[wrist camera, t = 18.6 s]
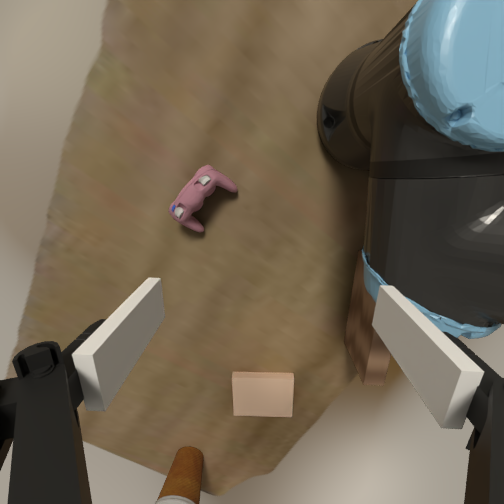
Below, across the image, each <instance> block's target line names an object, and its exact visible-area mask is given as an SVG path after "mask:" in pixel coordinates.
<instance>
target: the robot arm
mask: <svg viewBox="0 0 504 504" xmlns="http://www.w3.org/2000/svg"><path fill="white" fill-rule="evenodd" d="M317 125H318V131H319V135H320V138H321V140H322V143H323V145H324V146H325V148H326V150H327V151H328V152H329V154H330V155H331V156H332V157H333V158H334V159H336V160H337V161H338V162H340V163H341V164H343V165H345V166H348V167H350V168H354V169H360V170H369V177H368V195H367V212H366V225H365V238H364V245H363V249H362V258H363V261H364V284H365V287H366V290H367V291H368V293H369V294H370V295H371V296H372V298H373V300H374V301H375V302H376V307H375V312H374V317H373V322H372V326H373V327H374V329H375V330H376V332H377V333H378V335H379V336H380V338H381V339H382V341H383V342H384V344H385V345H386V347H387V348H388V350H389V351H390V353H391V354H392V355H393V357H394V359H395V360H396V361H397V363H398V365H399V366H400V368H401V369H402V370H403V372H404V373H405V375H406V376H407V378H408V379H409V381H410V382H411V384H412V385H413V387H414V388H415V390H416V391H417V393H418V394H419V396H420V397H421V398H422V400H423V402H424V403H425V405H426V406H427V408H428V409H429V410H430V412H431V414H432V415H433V416H434V418H435V419H436V421H437V422H438V424H439V425H440V427H441V428H450V429H462V427H463V425H464V422H465V419H466V417H467V418H468V419H469V420H470V422H471V423H472V424H473V425H474V430H473V432H472V434H471V437H470V439H469V441H468V444H467V446H466V449H468V450H470V454H469V463H468V472H467V481H466V492H465V500H464V504H504V378H501V377H500V376H499V375H498V374H497V373H496V372H495V371H494V370H493V369H491V368H490V367H489V366H488V365H487V364H486V363H485V362H484V361H483V360H481V359H480V358H479V357H478V356H477V355H475V353H474V352H473V351H471V350H470V349H468V348H467V346H466V345H465V344H464V343H462V342H461V341H460V340H459V339H458V337H459V336H460V335H462V336H464V337H466V338H468V339H474V338H482V337H485V336H488V335H490V334H491V333H493V332H494V331H495V330H497V329H498V328H499V327H501V324H504V0H418V1H417V3H416V4H415V5H414V6H413V7H412V8H411V9H410V10H409V11H408V13H407V14H406V15H405V16H404V17H403V18H402V19H401V20H400V21H399V22H398V23H397V25H396V26H395V27H394V28H393V29H392V30H391V31H390V32H389V33H388V34H387V35H386V36H385V38H384V39H381V40H376V41H373V42H370V43H367V44H365V45H363V46H361V47H360V48H358V49H356V50H355V51H353V52H352V53H351V54H349V55H348V56H347V57H346V58H345V59H344V60H343V61H342V62H341V63H340V64H339V65H338V66H337V68H336V69H335V70H334V72H333V73H332V74H331V76H330V77H329V79H328V80H327V82H326V84H325V86H324V88H323V91H322V93H321V96H320V100H319V104H318V110H317ZM164 318H165V312H164V303H163V294H162V285H161V278H148V279H147V280H146V281H145V282H144V283H143V284H142V285H141V286H140V287H139V288H138V289H137V290H136V291H135V292H134V293H133V294H132V295H131V296H130V297H129V298H128V299H127V300H126V301H125V302H124V303H123V304H122V305H121V306H120V307H119V308H118V309H117V310H116V311H115V312H114V313H113V314H112V315H111V316H110V317H109V318H108V319H101V320H99V321H97V322H95V323H93V324H92V325H90V326H89V327H88V328H87V329H86V330H85V331H84V332H83V334H80V335H79V336H78V337H77V338H76V340H74V341H73V342H72V343H71V344H70V345H69V346H68V347H67V348H66V349H64V350H63V351H62V352H61V350H60V346H59V345H58V343H56V342H53V341H45V342H41V343H37V344H34V345H32V346H29V347H27V348H25V349H24V350H22V351H20V352H19V353H18V354H17V355H16V356H15V357H14V359H13V361H12V362H13V365H14V368H15V370H16V373H17V376H18V377H16V378H10V379H5V380H0V470H1V468H2V466H3V463H4V460H5V458H6V456H7V453H8V451H9V448H10V446H11V444H12V442H13V451H12V461H11V472H10V483H9V494H8V504H92V500H91V494H90V487H89V481H88V474H87V468H86V461H85V454H84V448H83V441H82V435H81V428H80V422H79V415H78V411H77V407H78V406H79V405H80V403H81V402H82V401H83V399H84V403H85V407H86V410H90V411H106V409H107V408H108V406H109V405H110V403H111V401H112V400H113V398H114V397H115V395H116V394H117V392H118V390H119V389H120V387H121V386H122V384H123V383H124V381H125V379H126V378H127V376H128V375H129V373H130V372H131V370H132V368H133V367H134V365H135V364H136V362H137V361H138V359H139V357H140V356H141V354H142V353H143V351H144V350H145V348H146V346H147V345H148V343H149V342H150V340H151V339H152V337H153V335H154V334H155V332H156V331H157V329H158V328H159V326H160V324H161V323H162V321H163V320H164Z"/></svg>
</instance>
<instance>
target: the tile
mask: <svg viewBox="0 0 504 504" xmlns="http://www.w3.org/2000/svg"><path fill="white" fill-rule="evenodd" d="M232 387H233V408H234V415H237V416H270V417H292V410H293V391H294V375H293V373H269V372H233V374H232Z"/></svg>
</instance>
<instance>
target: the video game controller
mask: <svg viewBox="0 0 504 504" xmlns="http://www.w3.org/2000/svg"><path fill="white" fill-rule="evenodd" d="M215 186H220V187H222V188H224V189H226V190H228V191H230V192H237V187H236V185H235V184H234V183H233V182H232V181H231V180H230V179H229V178H228V177H226V176H225V175H223V174H222V173H220V172H218V171H217V170H215V169H214V168H213V167H212V166H210V165H206V166H203V167H202V168H200V169H199V170H198V171H197V172H196V174H195V176H194V177H193V178H192V179H191V180H190V181H189V182H188V183H187V184H186V186H185V187H184V188H183V189H182V191H181V192H180V194H179V195H178V197H177V198H176V200H175V201H174V202H173V203H172V204H171V205H170V207H169V213H170V215H171V216H172V217H173V219H174V220H176V221H177V222H179V223H180V224H182V225H184V226H186V227H188V228H190V229H192V230H194V231H196V232H203V231H204V227H203V226H202V224H201V223H200V222H199V221H198V220H197V219H196V218H194V217H193V216H192V215H191V214H192V213H193V212H196V211H198V210H199V209H200V208H201V207H202V205H203V200H204V199H205V197H208V196H210V195H211V194H212V193H213V192H214V191H215V189H216V187H215Z"/></svg>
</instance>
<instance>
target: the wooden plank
mask: <svg viewBox="0 0 504 504" xmlns="http://www.w3.org/2000/svg"><path fill="white" fill-rule="evenodd" d="M375 307H376V302H375V301H374V300H373V298H372V296H371V295H370V294H369V293H368V291H367V290H366V287H365V284H364V261H363V258H362V250H359V251H358V257H357V263H356V270H355V276H354V282H353V288H352V294H351V301H350V307H349V313H348V319H347V325H346V332H345V338H344V343H345V345H346V347H347V349H348V352H349V354H350V356H351V358H352V361H353V363H354V365H355V367H356V369H357V372H358V374H359V376H360V378H361V380H362V382H363V385H384V382H385V378H386V374H387V369H388V365H389V361H390V357H391V353H390V351H389V350H388V348H387V347H386V345H385V344H384V342H383V341H382V339H381V338H380V336H379V335H378V333H377V332H376V330H375V329H374V327H373V326H372V322H373V317H374V312H375Z"/></svg>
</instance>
